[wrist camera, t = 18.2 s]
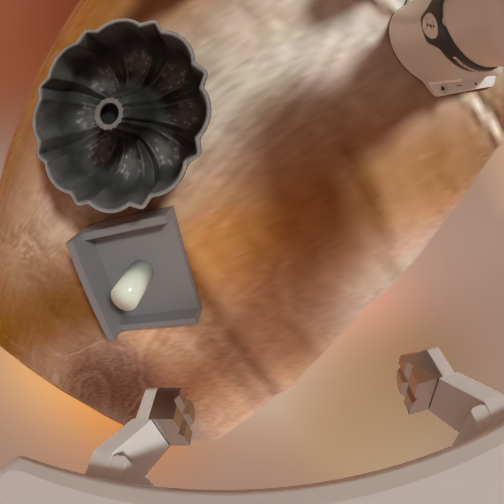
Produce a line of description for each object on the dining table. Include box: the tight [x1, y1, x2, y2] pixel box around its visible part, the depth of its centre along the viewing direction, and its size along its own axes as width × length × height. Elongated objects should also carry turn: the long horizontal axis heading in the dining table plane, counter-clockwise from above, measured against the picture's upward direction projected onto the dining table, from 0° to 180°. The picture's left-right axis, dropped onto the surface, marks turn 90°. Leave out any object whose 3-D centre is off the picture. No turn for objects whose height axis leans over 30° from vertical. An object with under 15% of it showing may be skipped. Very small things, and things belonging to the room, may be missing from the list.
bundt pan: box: [32, 18, 211, 213], centre depth 38 cm, size 26×26×10 cm
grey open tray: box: [66, 206, 202, 341], centre depth 49 cm, size 16×19×8 cm
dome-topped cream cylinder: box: [111, 260, 154, 311], centre depth 47 cm, size 4×4×8 cm
